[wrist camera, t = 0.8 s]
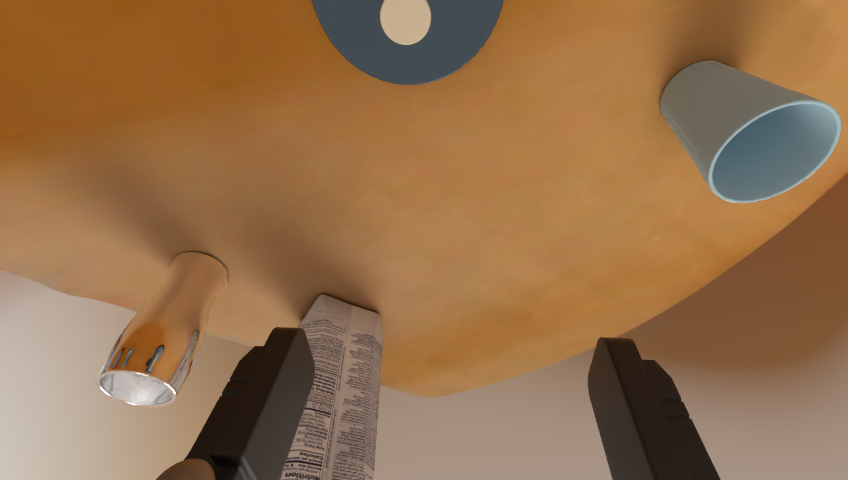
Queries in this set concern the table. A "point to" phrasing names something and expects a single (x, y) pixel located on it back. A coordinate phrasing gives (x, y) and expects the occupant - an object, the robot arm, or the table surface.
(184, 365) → the beer glass
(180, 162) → the table surface
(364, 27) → the pot lid
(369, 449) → the juice carton
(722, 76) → the cup
